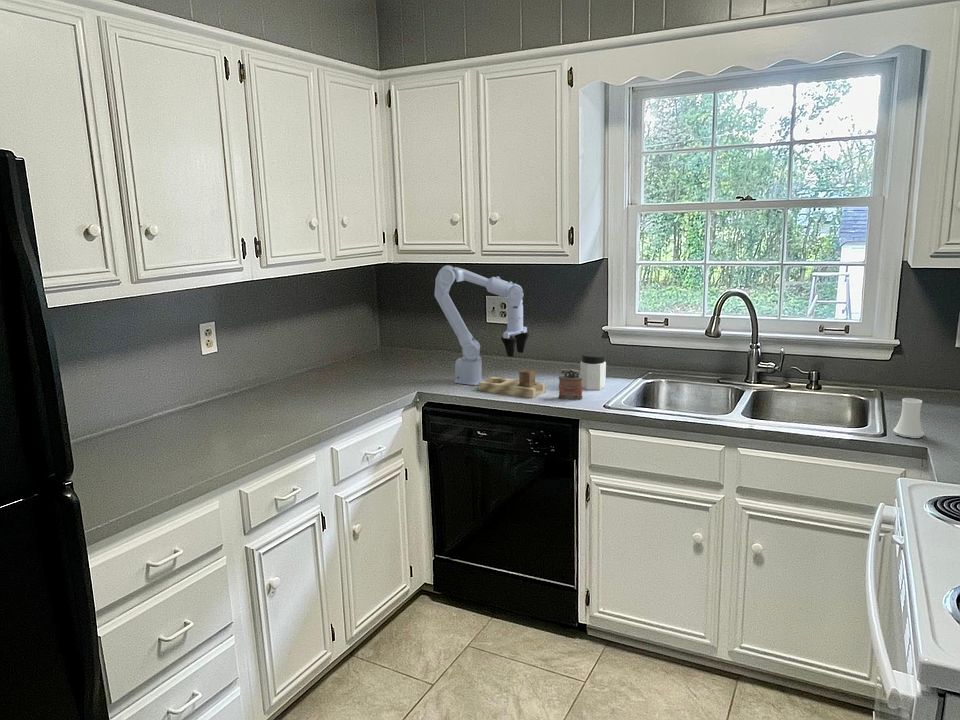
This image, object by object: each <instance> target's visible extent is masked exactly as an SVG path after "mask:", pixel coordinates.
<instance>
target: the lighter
mask: <svg viewBox="0 0 960 720" xmlns="http://www.w3.org/2000/svg"><path fill="white" fill-rule="evenodd" d="M560 374H564V375H558V382H559V383H558V387H559V388H558V390H559V392H558V399H560V400H570V401H572V400H573V401H575V400H576V401H581V400H583V388H582V380H583V377H581V376H580V370H575V369H573V368H571V369H562V368H561V369H560Z"/></svg>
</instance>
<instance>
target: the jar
mask: <svg viewBox="0 0 960 720" xmlns="http://www.w3.org/2000/svg"><path fill="white" fill-rule="evenodd" d="M579 366H580V370H579V376H581V377H583V380H582V389H584V390H587V391H600V390H602V389H605V388H606V382H607V381H606V380H607V378H606V373H607V362H606V354H605V353H603V352H599V351H598V352H597V351H596V352H595V351H592V352H583V353H582V354H581V361H580V365H579Z"/></svg>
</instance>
